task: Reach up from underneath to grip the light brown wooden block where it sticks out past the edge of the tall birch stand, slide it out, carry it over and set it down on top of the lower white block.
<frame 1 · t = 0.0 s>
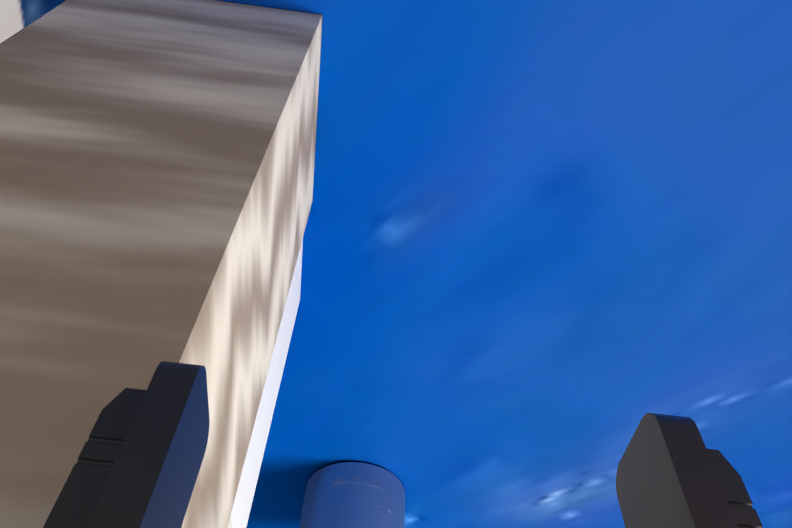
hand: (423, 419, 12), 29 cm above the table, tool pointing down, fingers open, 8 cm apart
white block: (208, 250, 47), on the table
birch stand: (212, 102, 40), on the table
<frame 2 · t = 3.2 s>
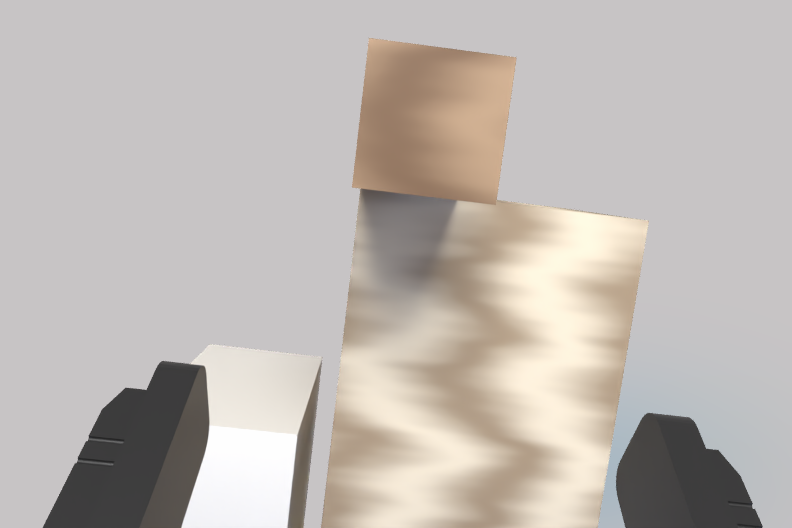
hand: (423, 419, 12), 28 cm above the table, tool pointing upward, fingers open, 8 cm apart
light brown wooden block: (407, 190, 29), point 32 cm above the table, touching birch stand
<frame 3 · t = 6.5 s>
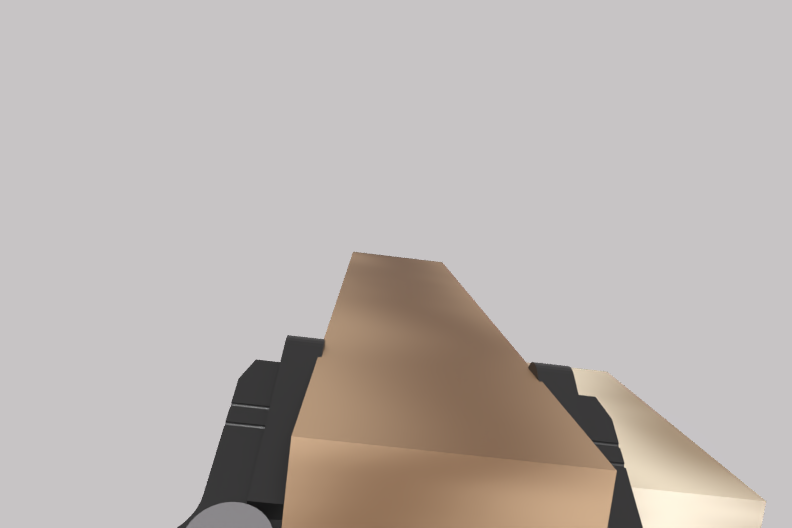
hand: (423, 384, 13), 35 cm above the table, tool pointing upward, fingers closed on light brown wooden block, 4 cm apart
light brown wooden block: (393, 434, 20), point 32 cm above the table, touching birch stand, gripper
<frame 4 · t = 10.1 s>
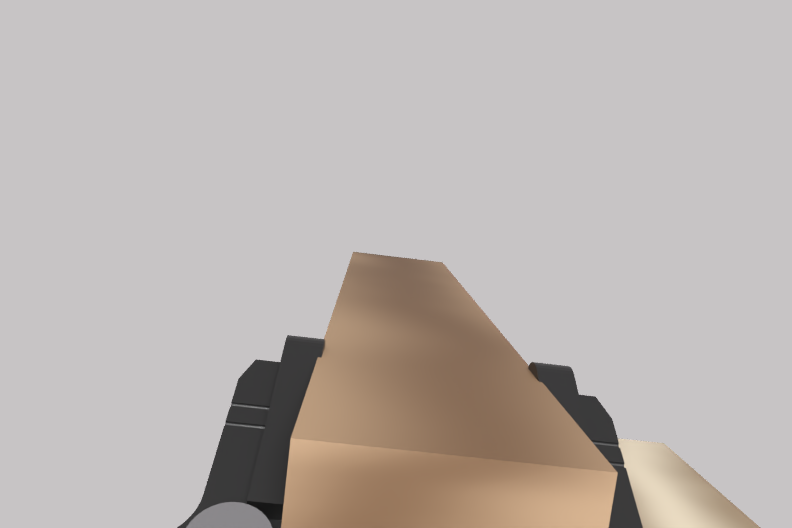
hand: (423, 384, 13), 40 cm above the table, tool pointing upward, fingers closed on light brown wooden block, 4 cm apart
light brown wooden block: (393, 434, 20), point 37 cm above the table, touching gripper
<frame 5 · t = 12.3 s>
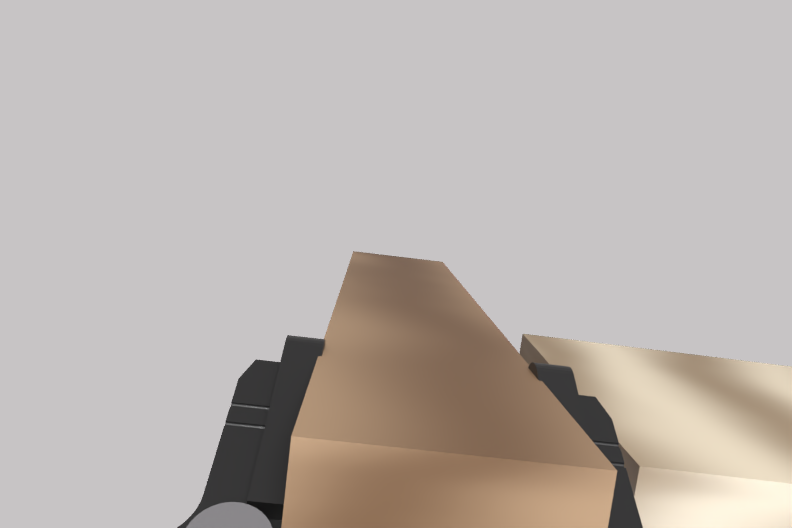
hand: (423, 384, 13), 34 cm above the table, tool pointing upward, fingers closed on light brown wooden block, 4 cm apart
light brown wooden block: (393, 433, 20), point 30 cm above the table, touching gripper
when the fingers open (26 cm above the table, at t = 14.0 s): light brown wooden block drops 2 cm, resting on white block.
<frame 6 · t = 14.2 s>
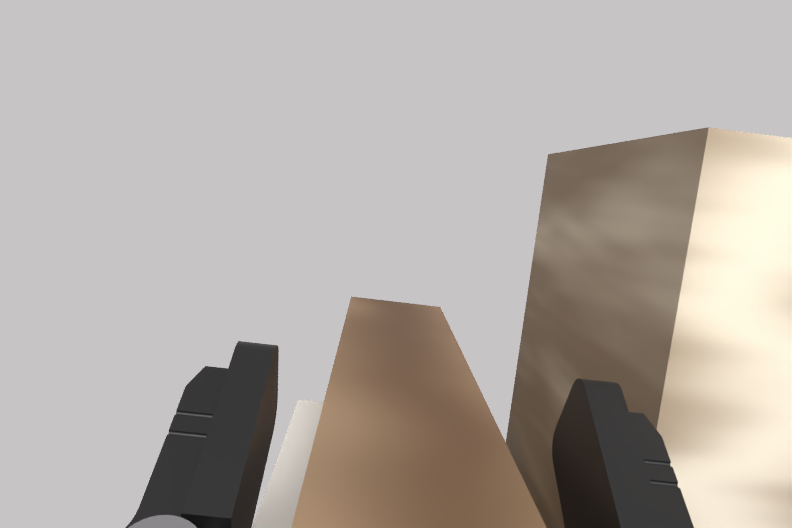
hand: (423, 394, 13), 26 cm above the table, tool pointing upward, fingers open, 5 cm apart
light brown wooden block: (387, 502, 20), point 21 cm above the table, touching white block
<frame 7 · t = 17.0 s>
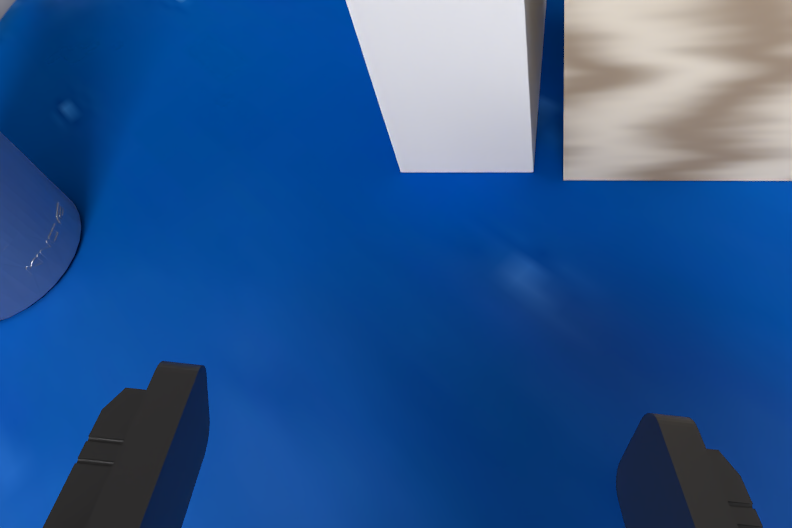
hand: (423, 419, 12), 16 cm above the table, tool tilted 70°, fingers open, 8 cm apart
white block: (477, 81, 38), on the table
birch stand: (685, 84, 35), on the table
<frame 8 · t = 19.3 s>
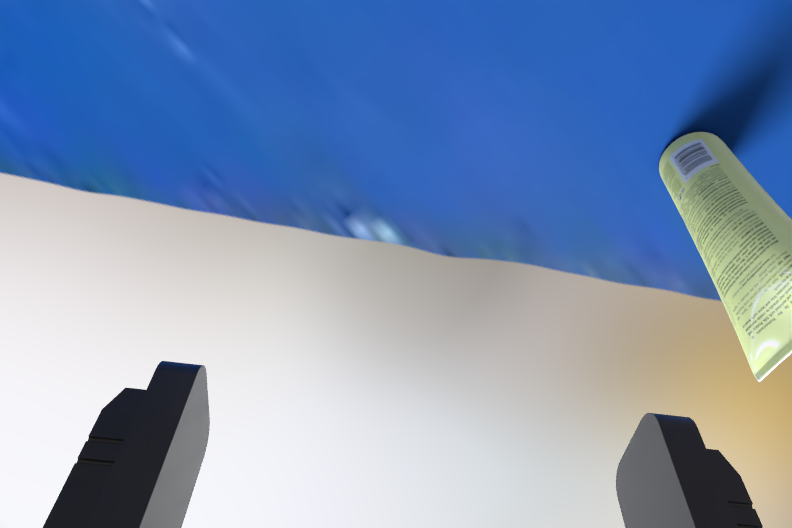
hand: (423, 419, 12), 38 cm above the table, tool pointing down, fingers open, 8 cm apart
tube: (688, 160, 51), on the table
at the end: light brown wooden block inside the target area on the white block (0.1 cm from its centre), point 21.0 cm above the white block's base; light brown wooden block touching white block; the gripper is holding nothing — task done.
